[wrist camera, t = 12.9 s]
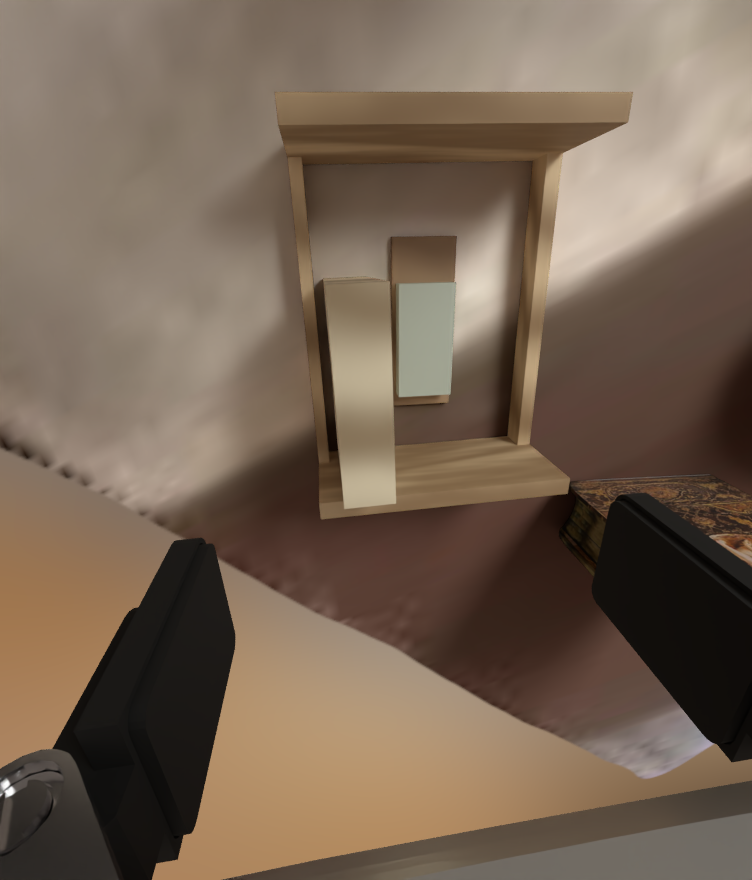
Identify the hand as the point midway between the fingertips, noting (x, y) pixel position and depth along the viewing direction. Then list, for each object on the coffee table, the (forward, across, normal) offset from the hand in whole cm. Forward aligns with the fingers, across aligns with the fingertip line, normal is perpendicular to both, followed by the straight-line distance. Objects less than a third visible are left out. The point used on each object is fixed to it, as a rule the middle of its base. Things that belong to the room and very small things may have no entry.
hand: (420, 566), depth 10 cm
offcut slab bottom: (+24, -5, -2) cm, 25 cm away
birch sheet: (+24, 0, 0) cm, 24 cm away
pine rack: (+24, -5, -2) cm, 24 cm away
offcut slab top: (+23, -5, -1) cm, 24 cm away
